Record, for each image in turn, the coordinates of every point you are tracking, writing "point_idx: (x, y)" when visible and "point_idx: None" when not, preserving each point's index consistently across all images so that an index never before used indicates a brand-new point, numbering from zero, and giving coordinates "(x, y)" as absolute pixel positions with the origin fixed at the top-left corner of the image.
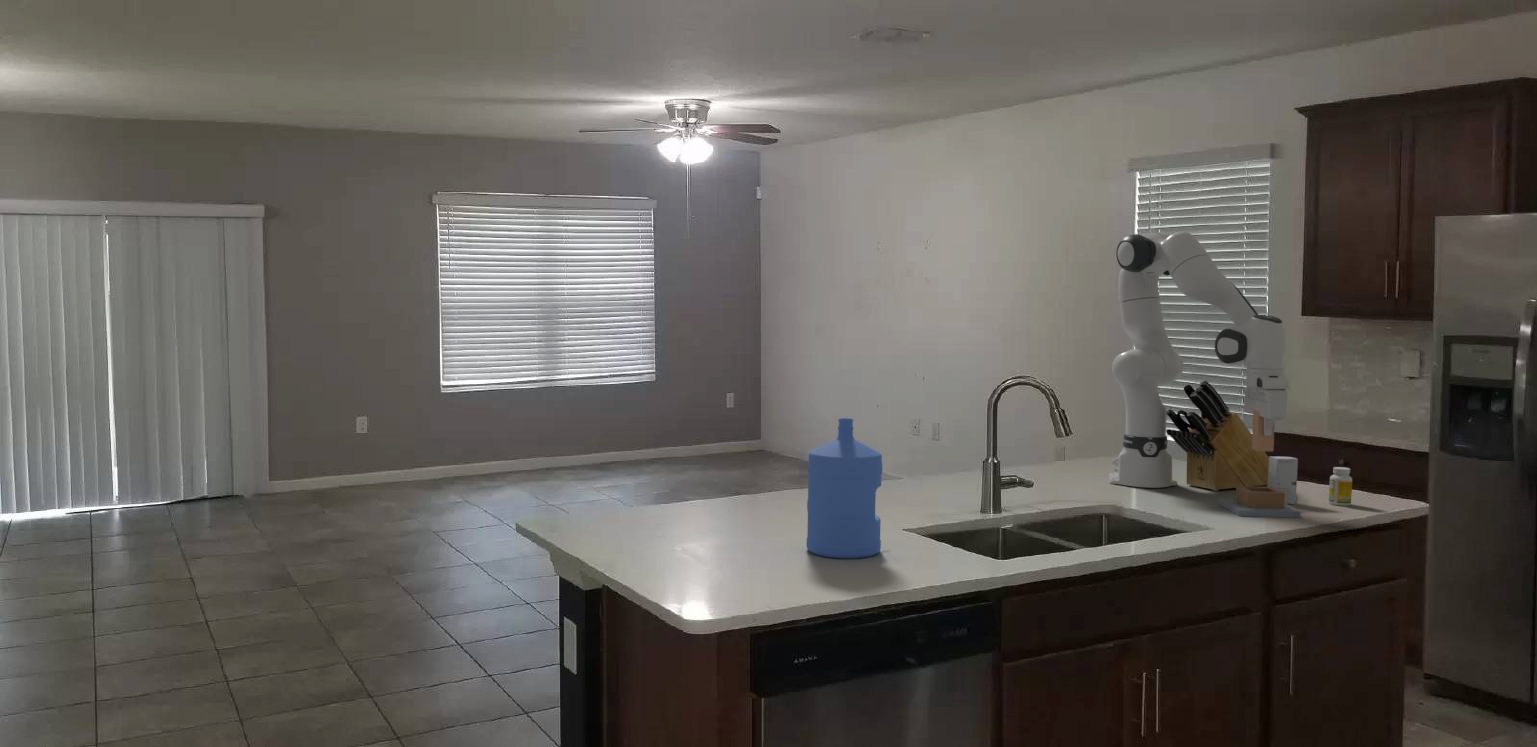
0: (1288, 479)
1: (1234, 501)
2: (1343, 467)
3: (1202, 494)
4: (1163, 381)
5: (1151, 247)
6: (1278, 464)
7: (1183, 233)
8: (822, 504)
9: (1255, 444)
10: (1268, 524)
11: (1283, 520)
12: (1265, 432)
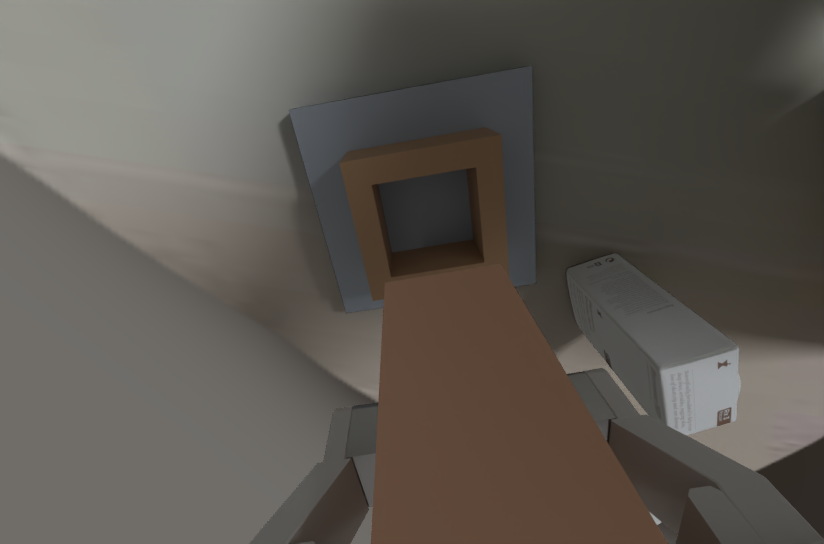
0: (612, 351)
1: (483, 121)
2: (659, 520)
3: (769, 20)
4: None
5: None
6: (644, 356)
7: None
8: None
9: (429, 298)
10: (175, 192)
11: (276, 249)
12: (332, 434)
